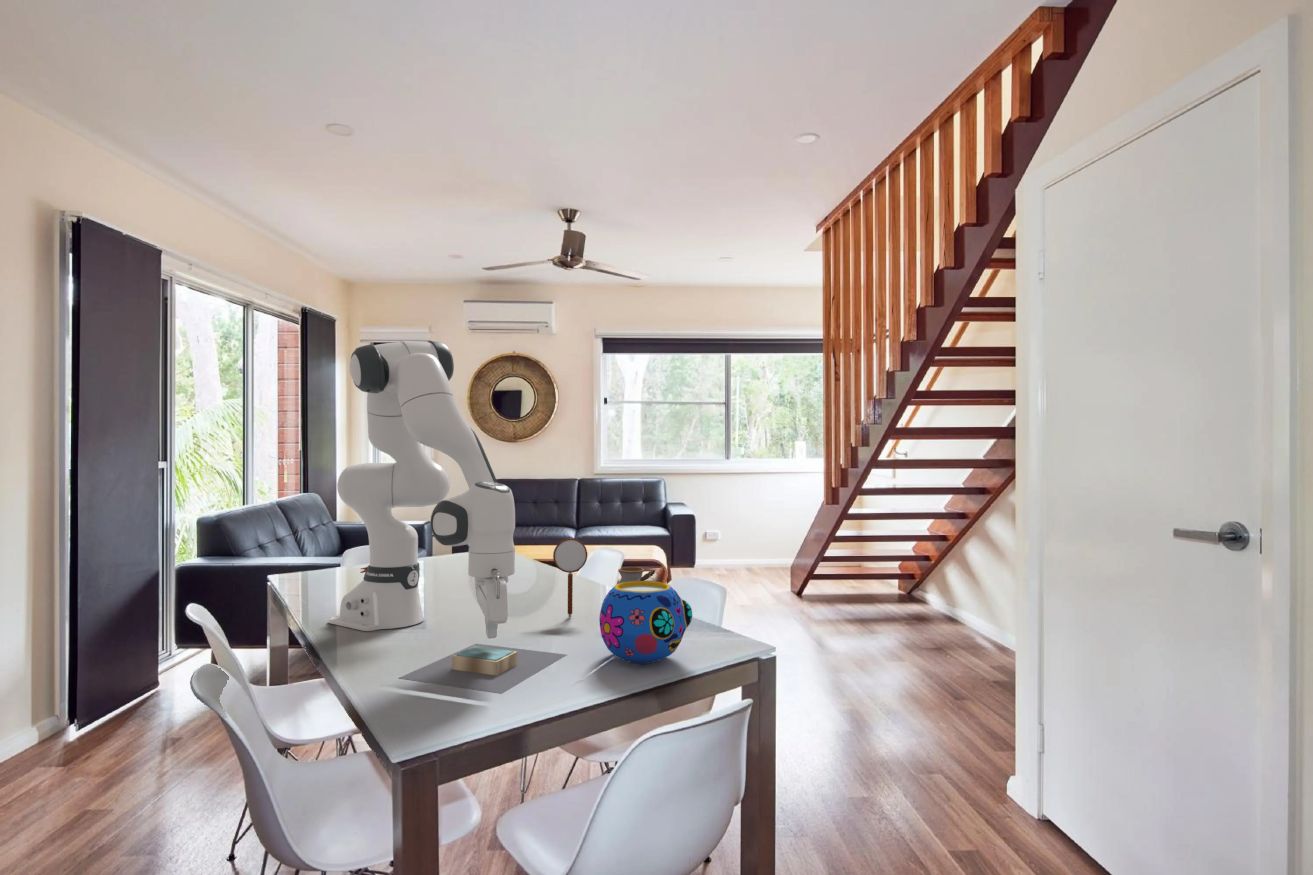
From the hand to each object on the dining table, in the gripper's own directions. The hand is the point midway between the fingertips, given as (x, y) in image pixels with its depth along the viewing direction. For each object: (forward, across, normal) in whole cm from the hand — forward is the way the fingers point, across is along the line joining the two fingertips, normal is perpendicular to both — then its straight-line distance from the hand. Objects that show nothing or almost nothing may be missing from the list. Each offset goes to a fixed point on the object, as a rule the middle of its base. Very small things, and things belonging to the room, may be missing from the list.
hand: (491, 636), depth 134 cm
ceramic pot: (+6, -6, -29) cm, 31 cm away
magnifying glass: (+6, +34, -23) cm, 42 cm away
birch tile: (+4, +1, -1) cm, 4 cm away
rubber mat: (+6, -1, +1) cm, 6 cm away
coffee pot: (+6, +21, -37) cm, 43 cm away
